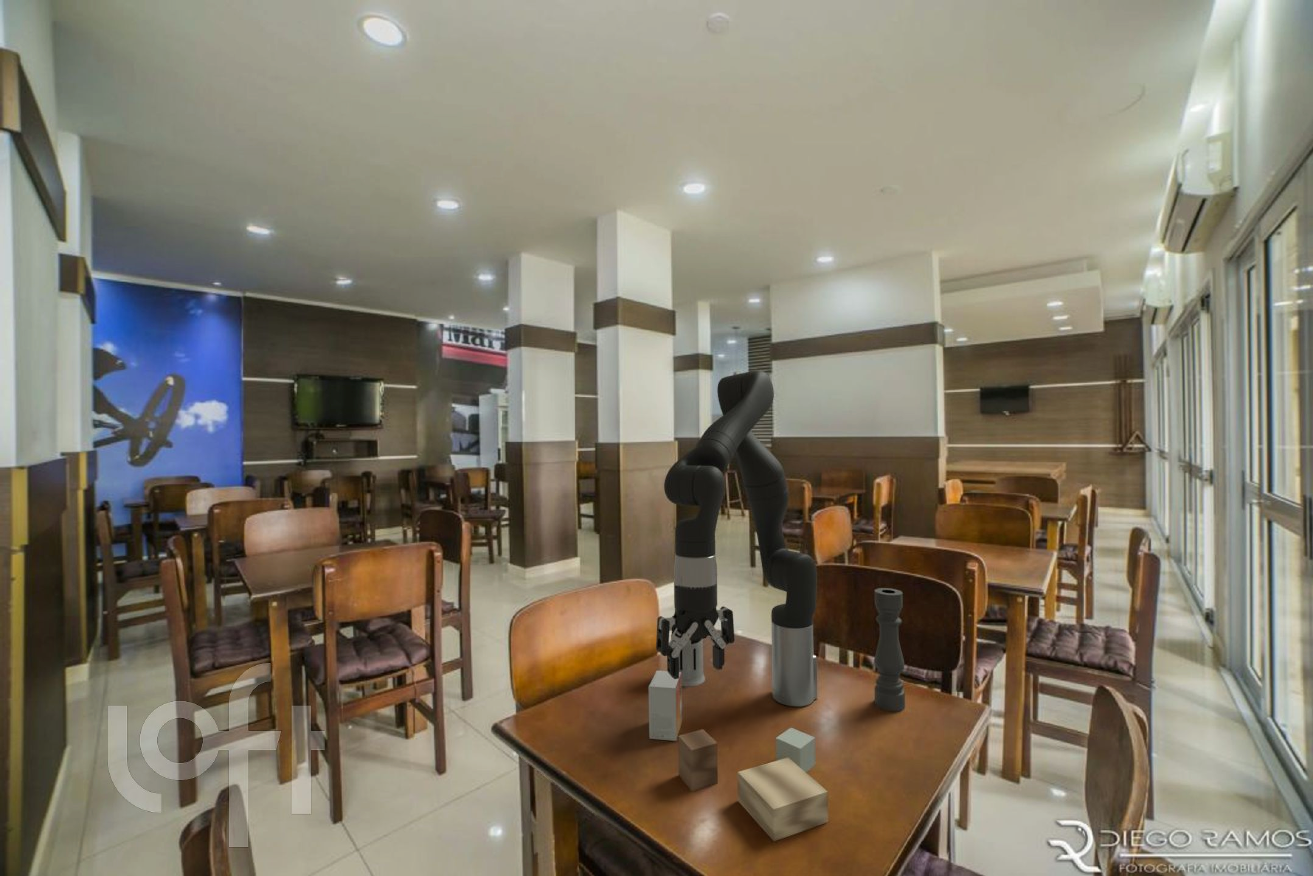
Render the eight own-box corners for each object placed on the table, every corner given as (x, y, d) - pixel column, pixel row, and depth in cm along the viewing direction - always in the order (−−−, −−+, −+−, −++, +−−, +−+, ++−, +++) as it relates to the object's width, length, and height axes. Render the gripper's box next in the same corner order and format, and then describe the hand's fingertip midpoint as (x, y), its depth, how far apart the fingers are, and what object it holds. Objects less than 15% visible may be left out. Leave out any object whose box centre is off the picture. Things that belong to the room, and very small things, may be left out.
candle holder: (908, 703, 123) (907, 590, 123) (900, 714, 118) (898, 597, 118) (880, 695, 127) (878, 586, 127) (870, 705, 122) (869, 592, 122)
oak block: (788, 786, 95) (788, 757, 95) (828, 824, 86) (827, 791, 86) (738, 802, 91) (737, 771, 91) (773, 843, 82) (773, 809, 82)
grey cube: (791, 754, 104) (790, 727, 104) (815, 765, 101) (815, 737, 101) (776, 765, 101) (776, 737, 101) (800, 777, 97) (800, 748, 97)
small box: (676, 742, 109) (675, 688, 109) (648, 739, 110) (647, 686, 110) (682, 721, 116) (682, 671, 116) (656, 719, 118) (656, 669, 118)
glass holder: (703, 670, 142) (702, 612, 141) (709, 696, 127) (708, 631, 127) (669, 671, 141) (668, 612, 141) (671, 697, 127) (670, 632, 127)
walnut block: (703, 768, 100) (703, 729, 100) (717, 783, 96) (717, 743, 96) (678, 775, 98) (678, 735, 98) (692, 791, 93) (691, 750, 93)
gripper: (719, 570, 103) (720, 658, 103) (649, 579, 97) (650, 672, 97) (741, 580, 96) (742, 673, 96) (668, 590, 90) (668, 689, 90)
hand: (696, 672), depth 97 cm, fingers open, 8 cm apart
